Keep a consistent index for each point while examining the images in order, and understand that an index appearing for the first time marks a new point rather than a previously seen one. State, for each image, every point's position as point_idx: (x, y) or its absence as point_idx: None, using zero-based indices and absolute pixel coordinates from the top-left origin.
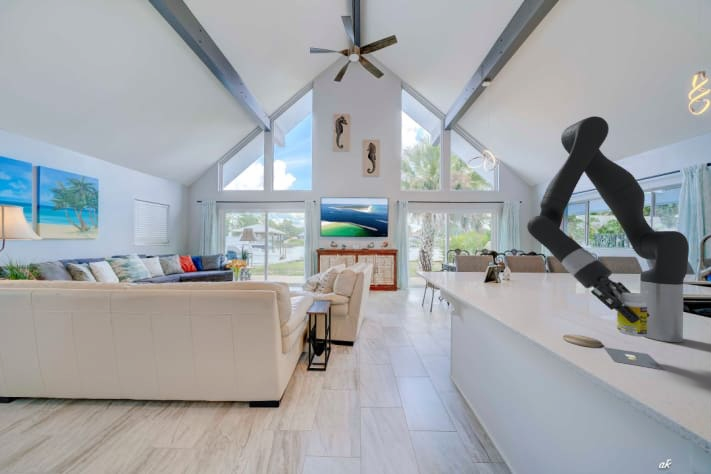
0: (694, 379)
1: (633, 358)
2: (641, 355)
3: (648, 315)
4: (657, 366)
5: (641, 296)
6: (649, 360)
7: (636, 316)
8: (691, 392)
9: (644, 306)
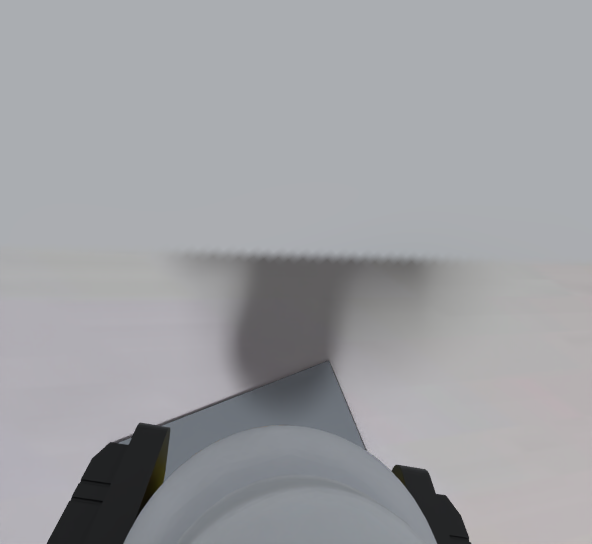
0: (344, 280)
1: None
2: (169, 467)
3: (167, 428)
4: (304, 389)
5: (358, 495)
6: (234, 425)
7: (435, 493)
8: (498, 287)
9: (350, 443)
